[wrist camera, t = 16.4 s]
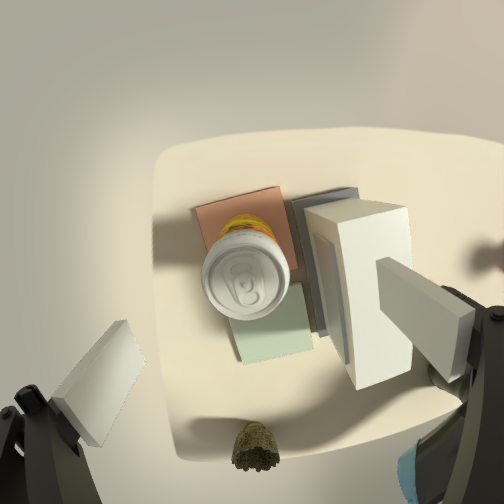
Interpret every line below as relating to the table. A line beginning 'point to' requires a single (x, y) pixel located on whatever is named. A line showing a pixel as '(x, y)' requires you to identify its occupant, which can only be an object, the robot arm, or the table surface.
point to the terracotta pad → (258, 204)
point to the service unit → (355, 279)
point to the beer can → (245, 269)
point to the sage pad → (275, 330)
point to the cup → (255, 449)
